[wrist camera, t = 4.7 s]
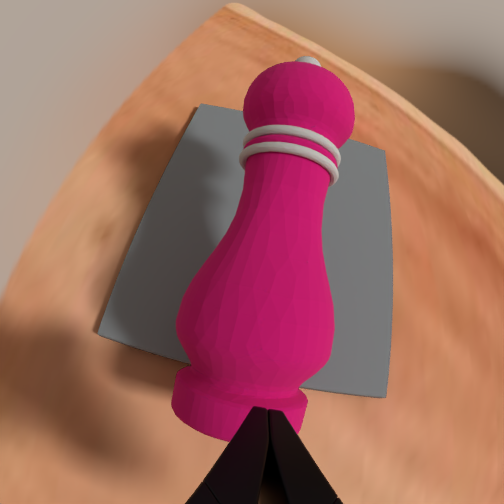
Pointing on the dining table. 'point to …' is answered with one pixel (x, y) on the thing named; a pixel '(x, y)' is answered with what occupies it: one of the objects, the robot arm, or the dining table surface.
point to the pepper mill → (268, 260)
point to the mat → (215, 227)
